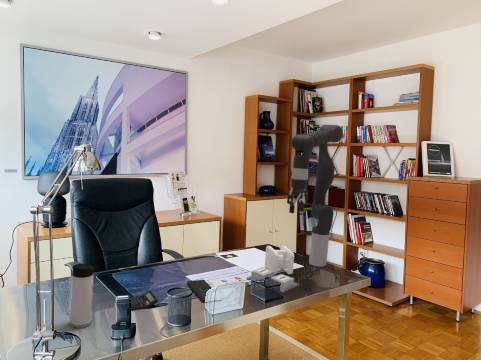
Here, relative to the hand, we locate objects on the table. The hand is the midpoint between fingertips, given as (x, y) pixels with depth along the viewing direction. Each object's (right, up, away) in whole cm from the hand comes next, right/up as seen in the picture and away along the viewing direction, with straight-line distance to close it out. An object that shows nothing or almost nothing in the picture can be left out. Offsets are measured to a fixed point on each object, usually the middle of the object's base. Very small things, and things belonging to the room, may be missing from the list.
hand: (296, 212), depth 177 cm
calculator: (-64, -32, -36) cm, 80 cm away
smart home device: (-42, -32, -21) cm, 57 cm away
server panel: (-12, -32, -4) cm, 34 cm away
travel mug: (-79, -32, -54) cm, 101 cm away
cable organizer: (-8, -31, +12) cm, 34 cm away
